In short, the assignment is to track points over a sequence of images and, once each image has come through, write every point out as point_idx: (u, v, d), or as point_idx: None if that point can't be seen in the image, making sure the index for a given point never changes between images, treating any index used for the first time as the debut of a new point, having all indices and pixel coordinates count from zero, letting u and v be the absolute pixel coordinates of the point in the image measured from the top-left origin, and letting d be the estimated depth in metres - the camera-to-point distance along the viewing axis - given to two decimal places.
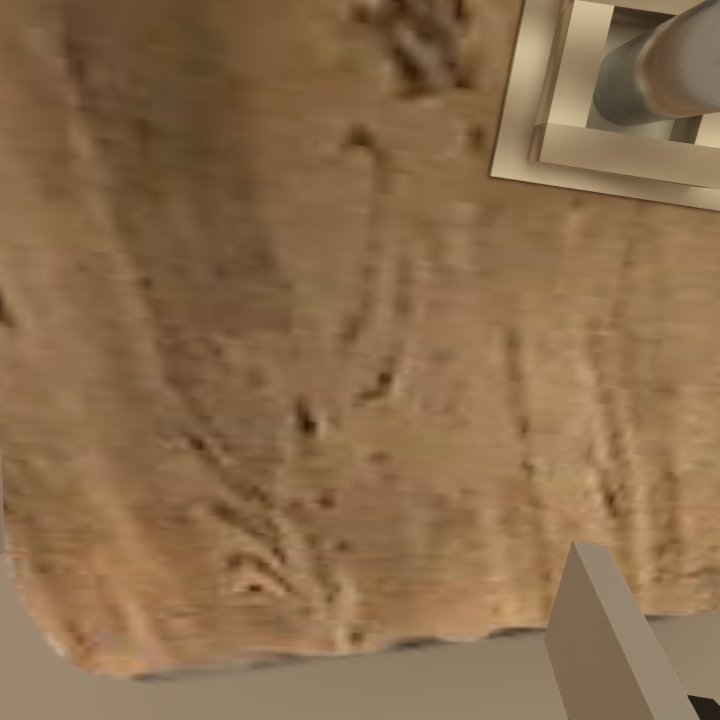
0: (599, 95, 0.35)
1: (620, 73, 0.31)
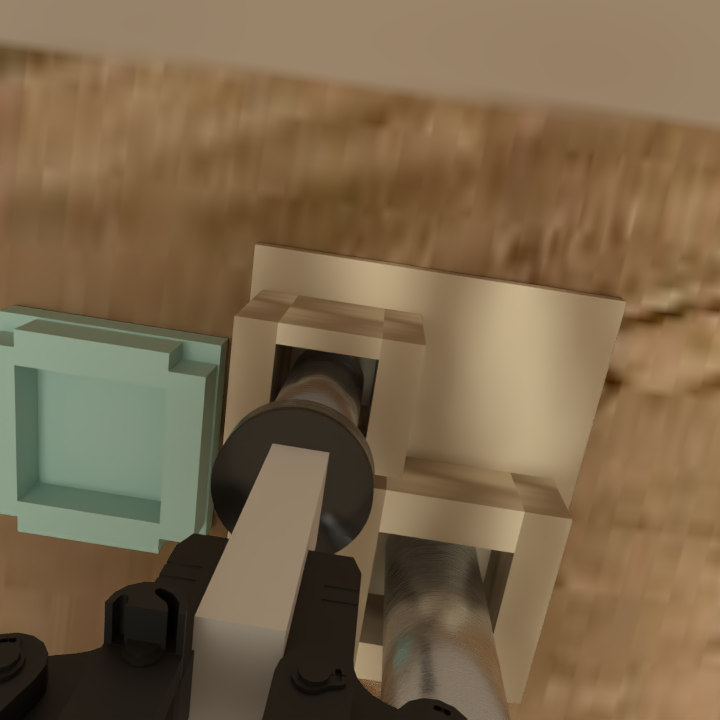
0: None
1: None
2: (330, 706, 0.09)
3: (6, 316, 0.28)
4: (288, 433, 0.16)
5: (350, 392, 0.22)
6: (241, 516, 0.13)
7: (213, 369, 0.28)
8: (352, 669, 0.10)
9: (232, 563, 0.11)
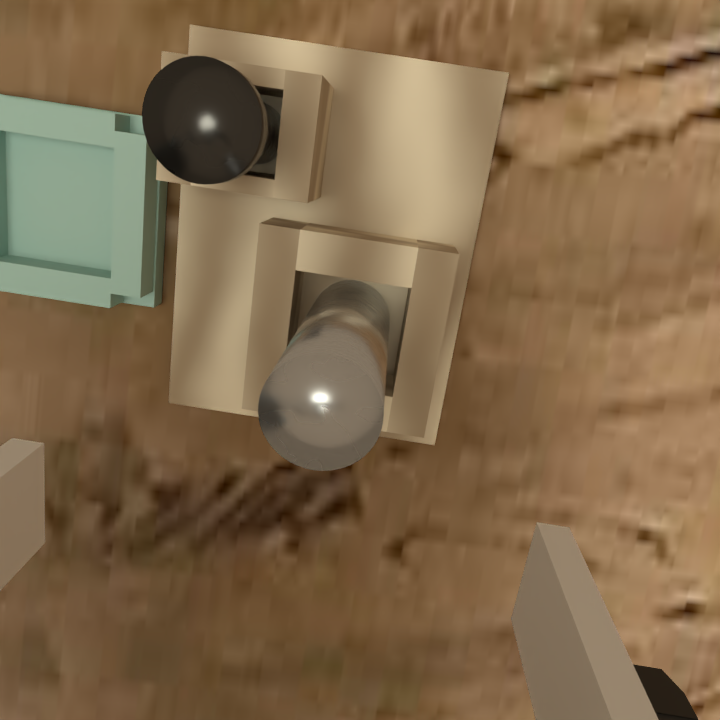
0: None
1: None
2: None
3: None
4: (197, 71, 0.22)
5: None
6: None
7: None
8: None
9: None
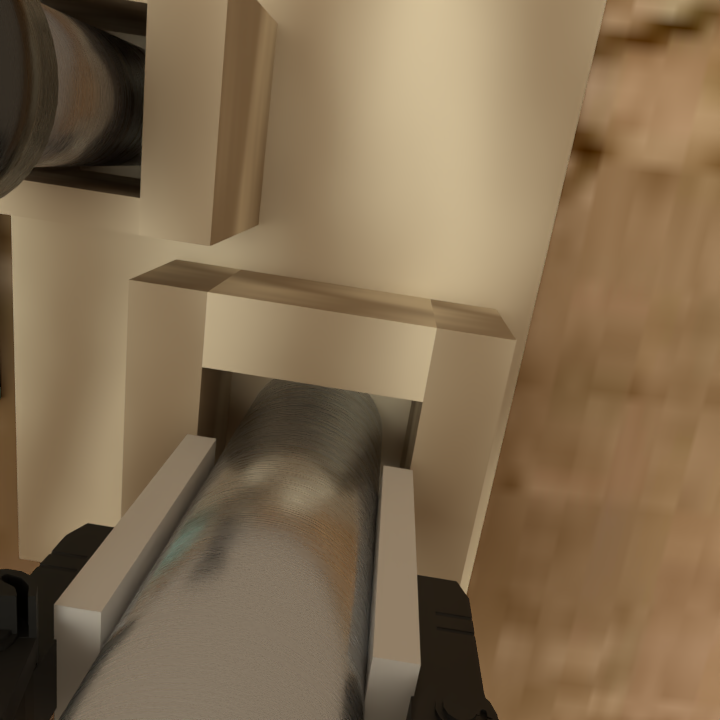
0: None
1: None
2: None
3: None
4: None
5: (110, 46, 0.13)
6: (133, 505, 0.13)
7: None
8: None
9: (109, 552, 0.11)
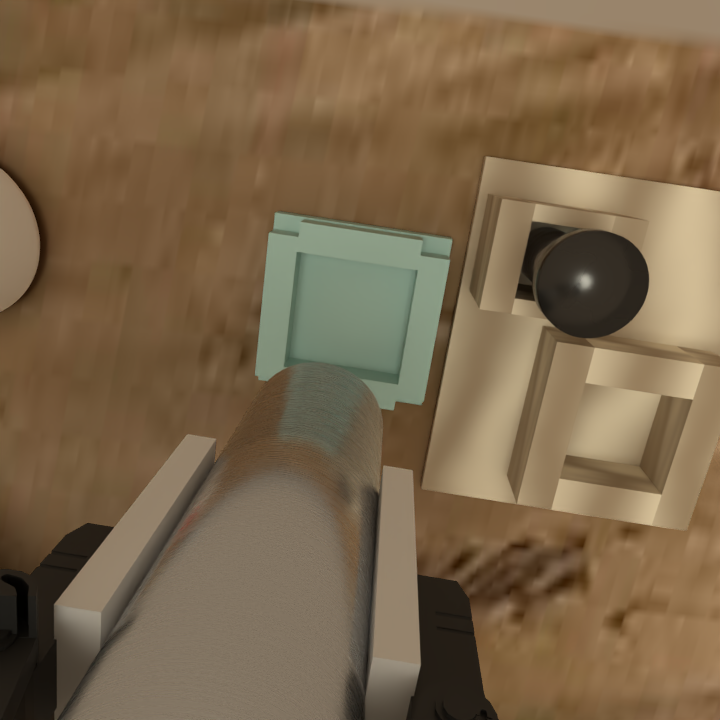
0: None
1: None
2: None
3: (280, 217, 0.35)
4: (597, 244, 0.25)
5: None
6: (133, 505, 0.13)
7: (448, 257, 0.35)
8: None
9: (109, 552, 0.11)
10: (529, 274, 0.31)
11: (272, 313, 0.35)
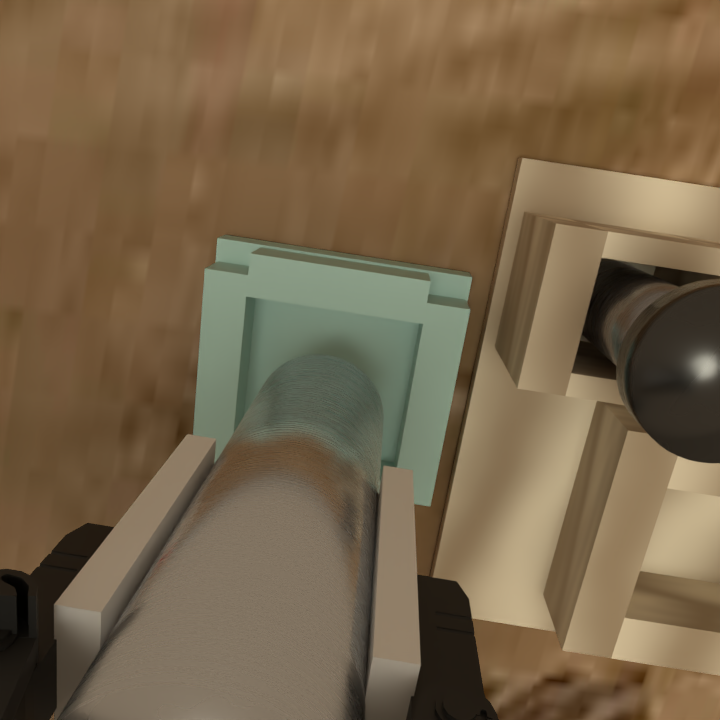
0: None
1: None
2: None
3: (224, 244, 0.25)
4: None
5: None
6: (132, 505, 0.13)
7: (466, 303, 0.24)
8: None
9: (109, 552, 0.11)
10: (592, 336, 0.21)
11: (213, 383, 0.24)
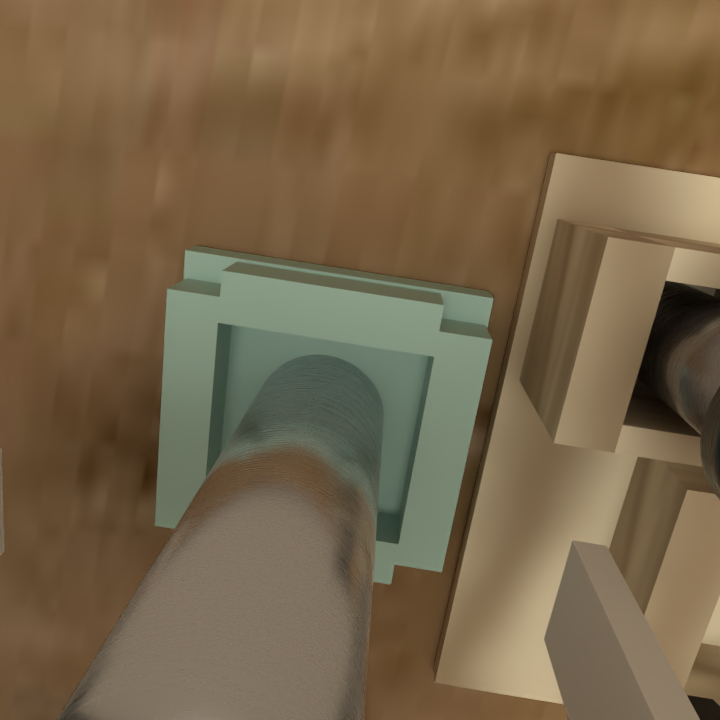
0: None
1: None
2: None
3: (194, 258, 0.20)
4: None
5: None
6: None
7: (486, 330, 0.20)
8: None
9: None
10: (649, 377, 0.16)
11: (179, 426, 0.20)
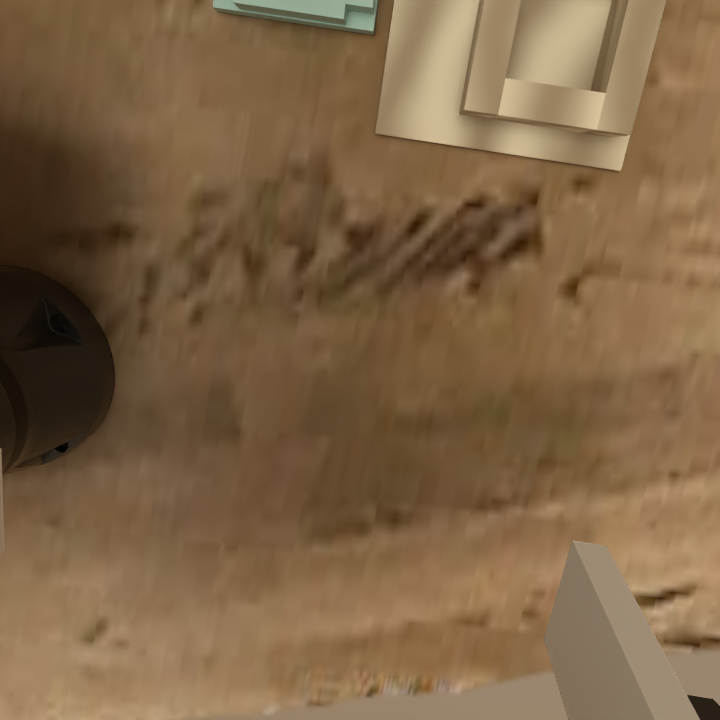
0: None
1: None
2: None
3: None
4: None
5: None
6: None
7: None
8: None
9: None
10: None
11: None
